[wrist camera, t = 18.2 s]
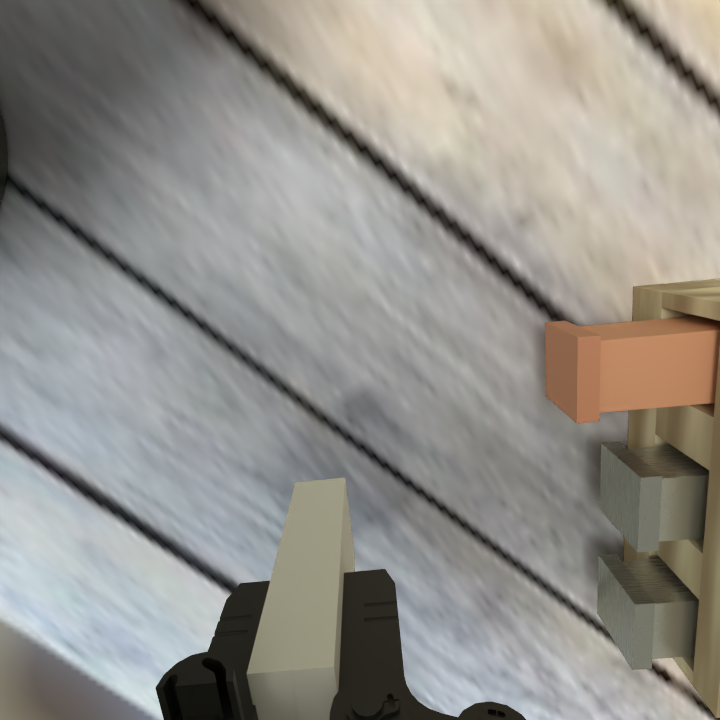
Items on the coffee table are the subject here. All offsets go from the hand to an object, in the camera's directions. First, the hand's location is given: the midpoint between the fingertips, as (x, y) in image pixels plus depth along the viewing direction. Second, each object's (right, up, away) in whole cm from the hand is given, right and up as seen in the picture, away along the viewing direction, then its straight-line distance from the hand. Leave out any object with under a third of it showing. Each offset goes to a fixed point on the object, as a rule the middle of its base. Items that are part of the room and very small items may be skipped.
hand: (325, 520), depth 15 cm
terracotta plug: (+19, +6, +11) cm, 23 cm away
